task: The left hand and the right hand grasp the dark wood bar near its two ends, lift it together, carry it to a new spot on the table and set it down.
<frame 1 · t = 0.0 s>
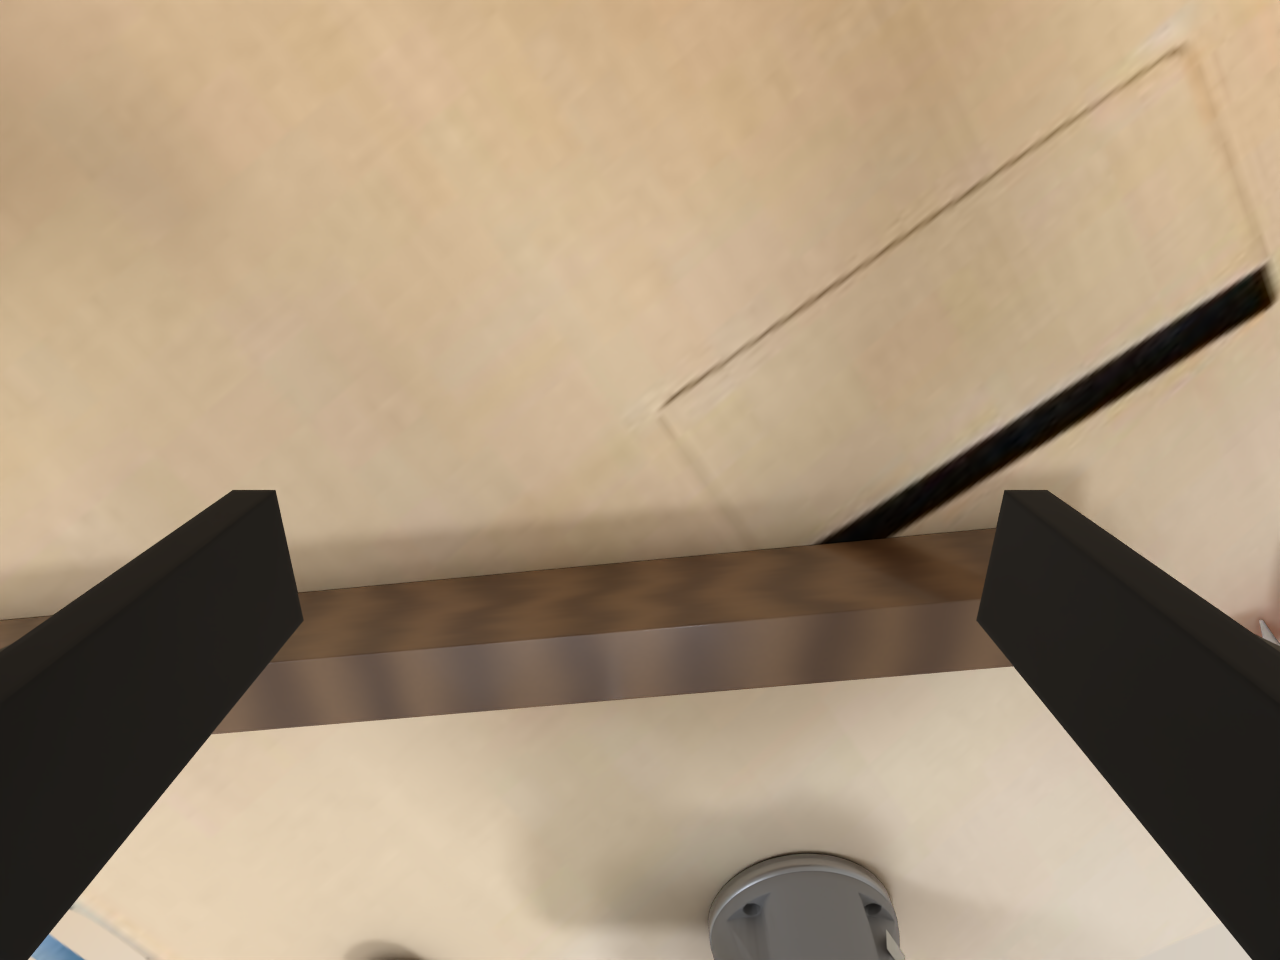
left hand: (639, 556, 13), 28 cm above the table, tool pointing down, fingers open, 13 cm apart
bar: (506, 603, 45), on the table
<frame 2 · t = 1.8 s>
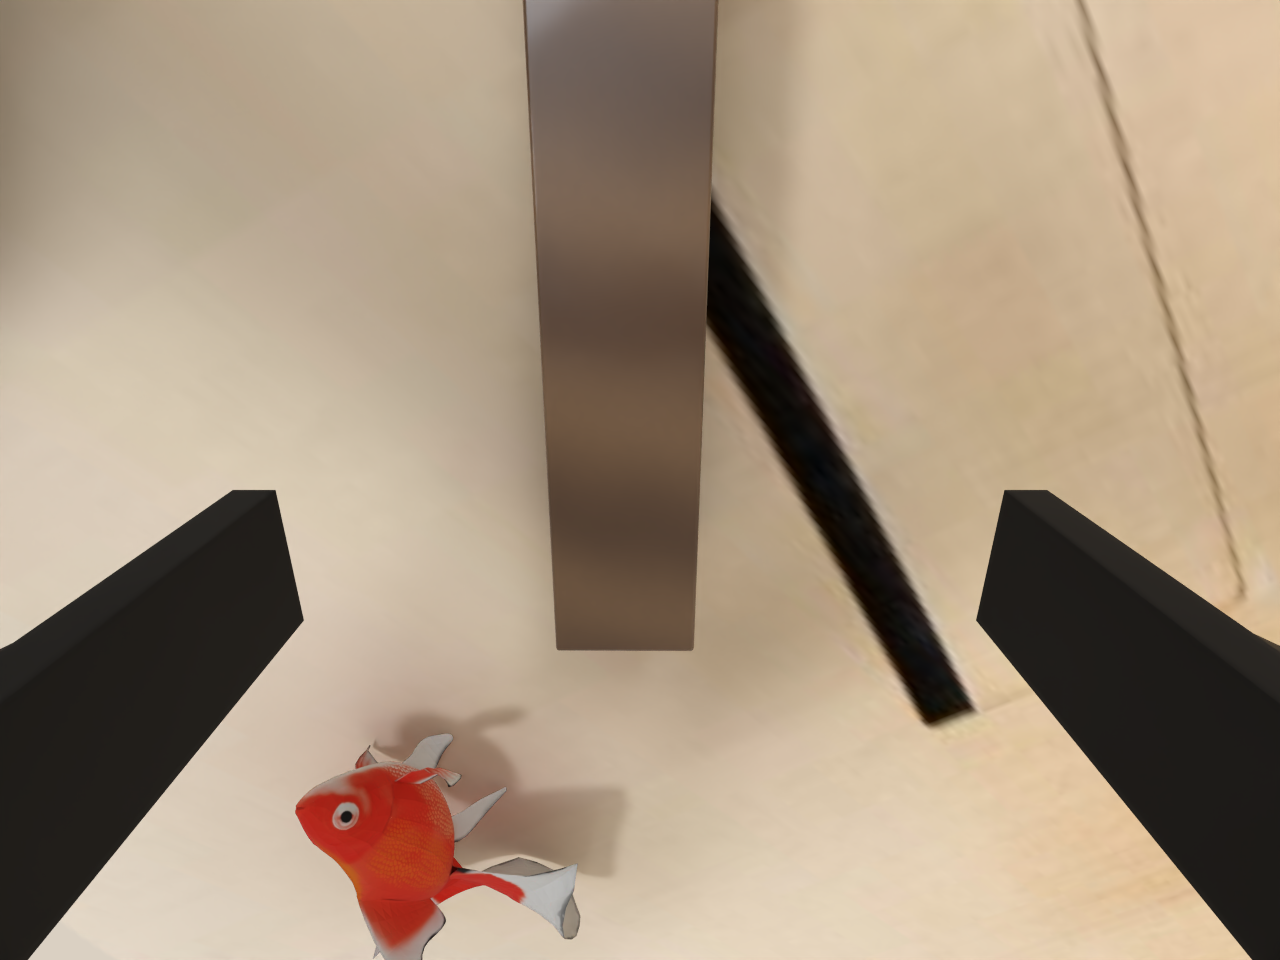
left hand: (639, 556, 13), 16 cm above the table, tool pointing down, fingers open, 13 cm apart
fish: (479, 790, 35), on the table
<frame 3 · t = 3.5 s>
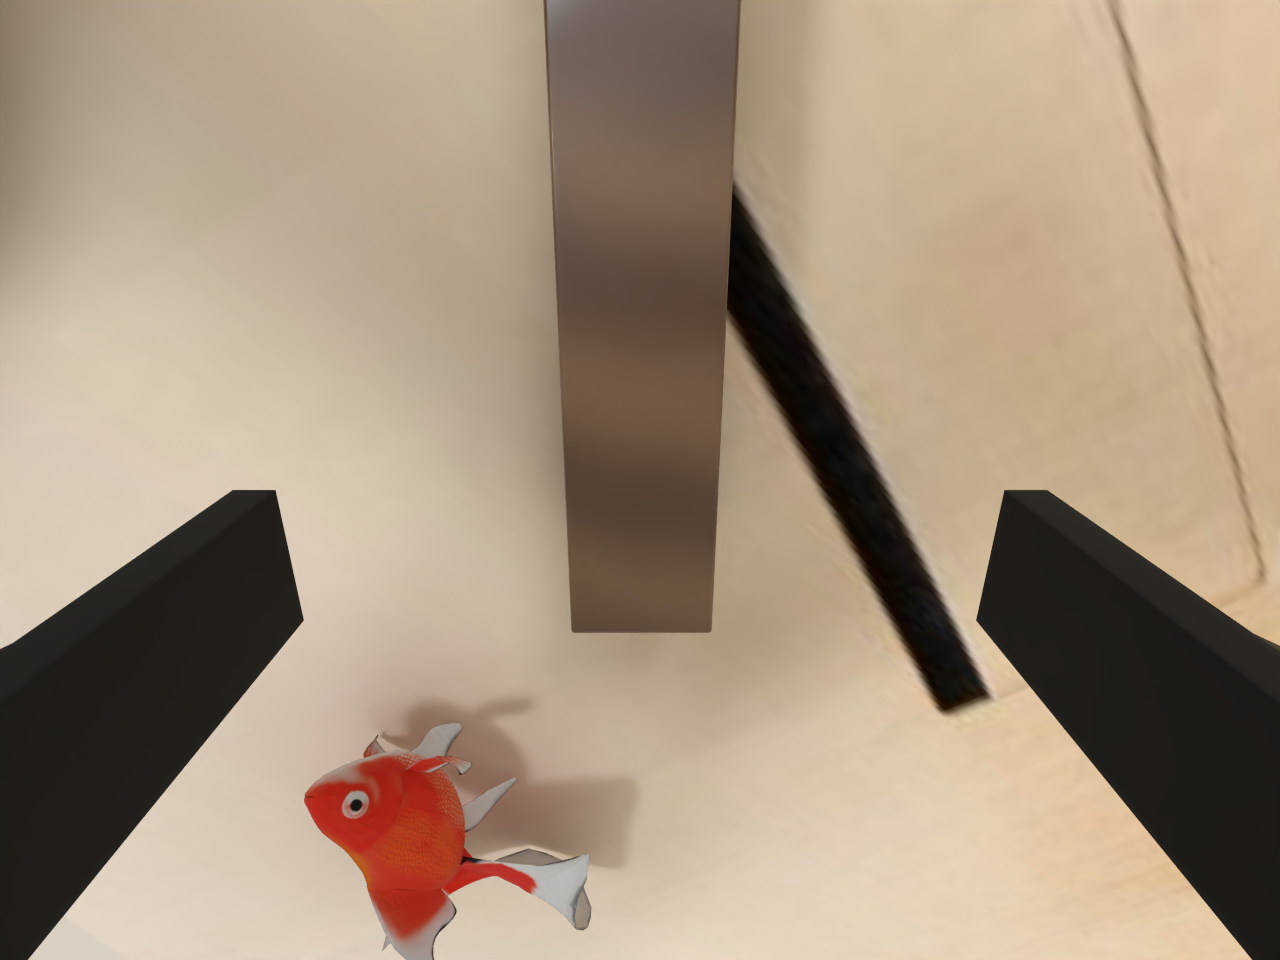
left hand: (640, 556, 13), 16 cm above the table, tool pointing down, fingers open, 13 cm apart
fish: (489, 781, 35), on the table
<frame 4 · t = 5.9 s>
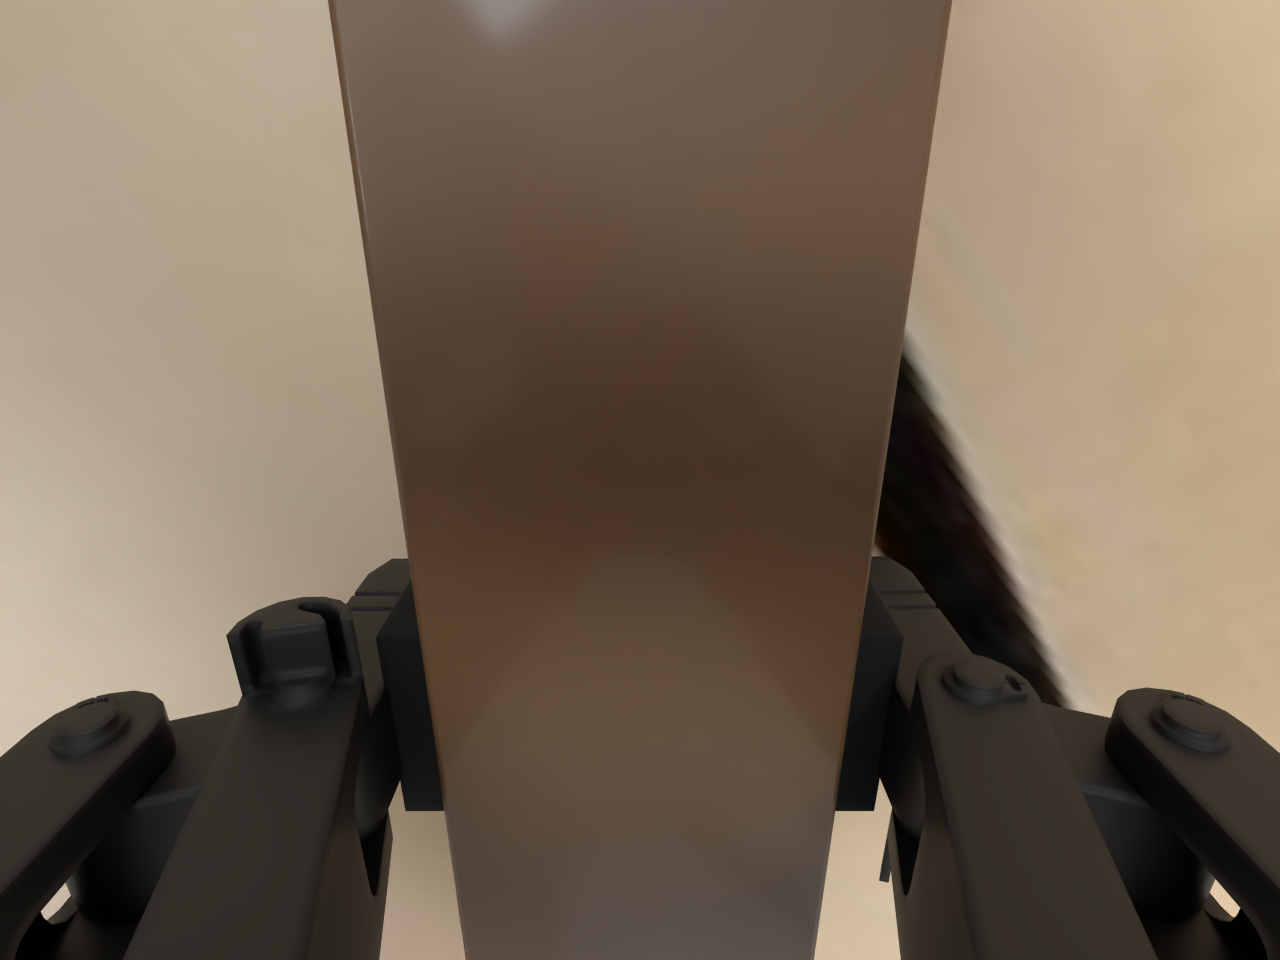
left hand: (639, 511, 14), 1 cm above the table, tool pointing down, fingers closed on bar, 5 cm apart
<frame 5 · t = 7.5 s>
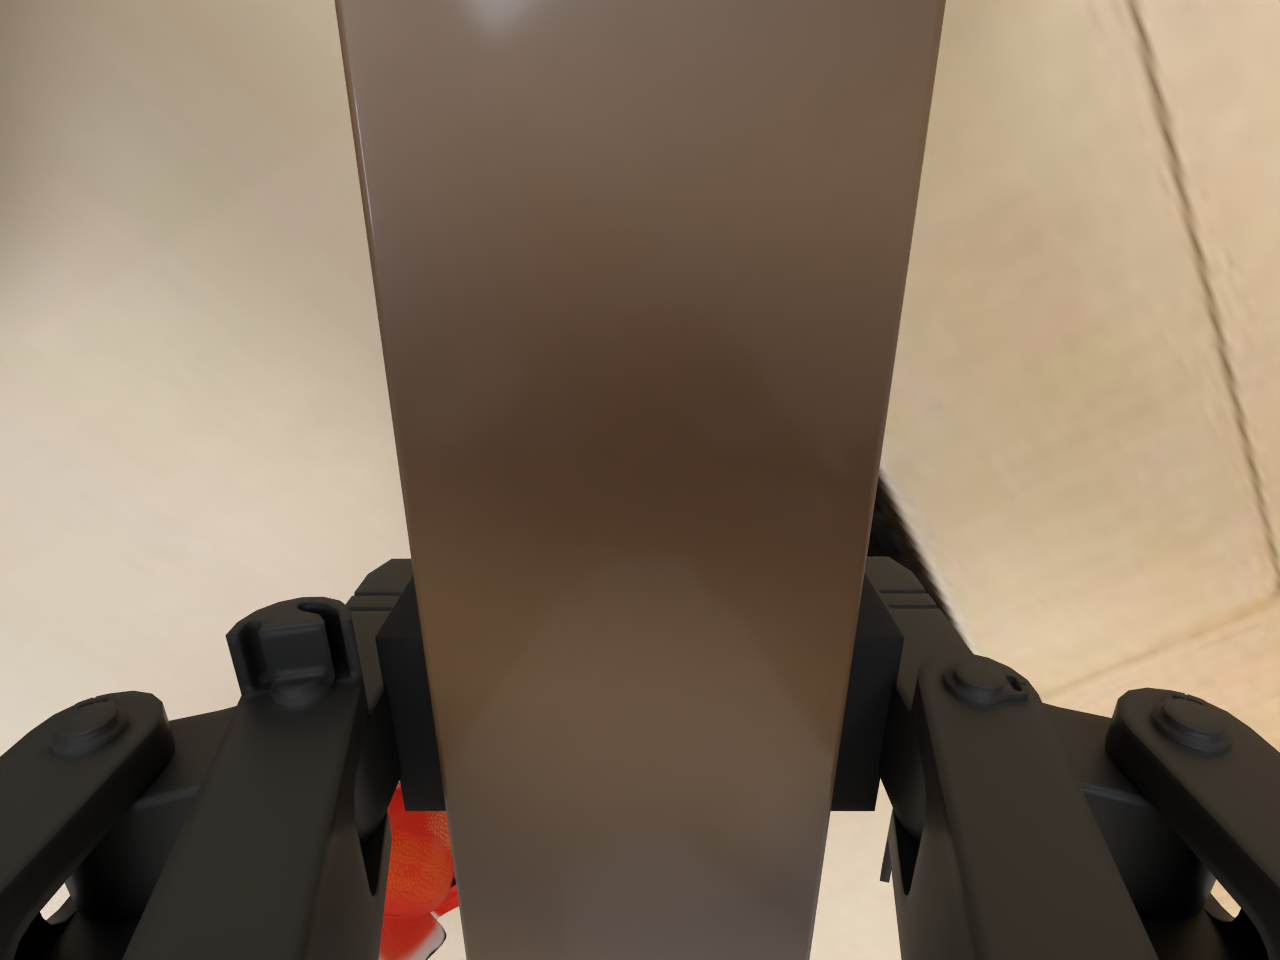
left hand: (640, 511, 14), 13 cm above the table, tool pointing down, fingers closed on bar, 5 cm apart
fish: (481, 798, 34), on the table
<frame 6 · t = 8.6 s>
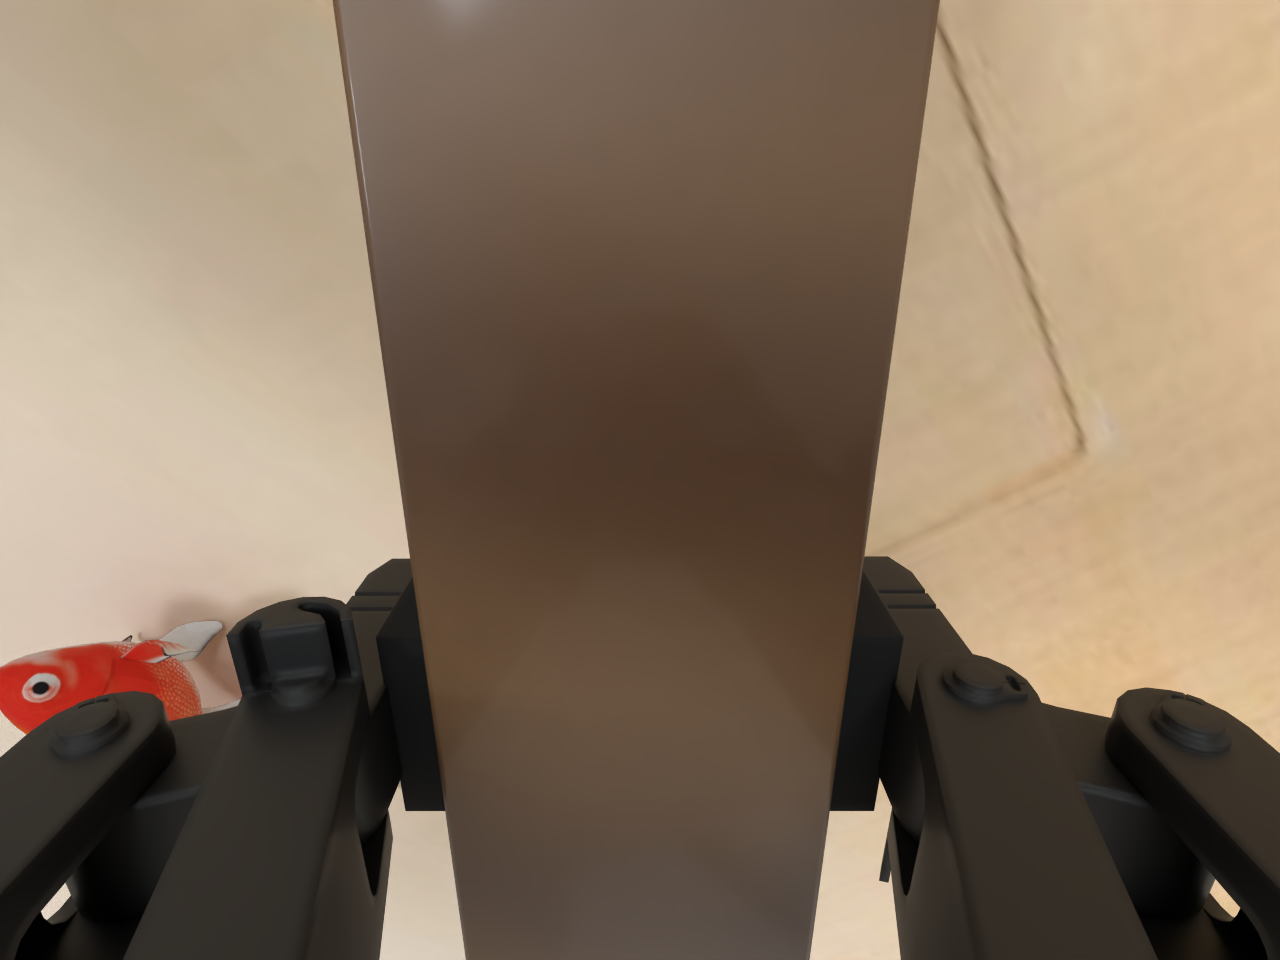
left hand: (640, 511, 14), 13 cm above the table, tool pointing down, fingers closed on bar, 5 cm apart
fish: (264, 689, 32), on the table
when the left hand's fingers open (2 cm above the table, at t = 11.4 s): bar drops 2 cm, on the table.
when the right hand's fingers open (3 cm above the table, at t = 11.4 s): bar drops 2 cm, on the table.
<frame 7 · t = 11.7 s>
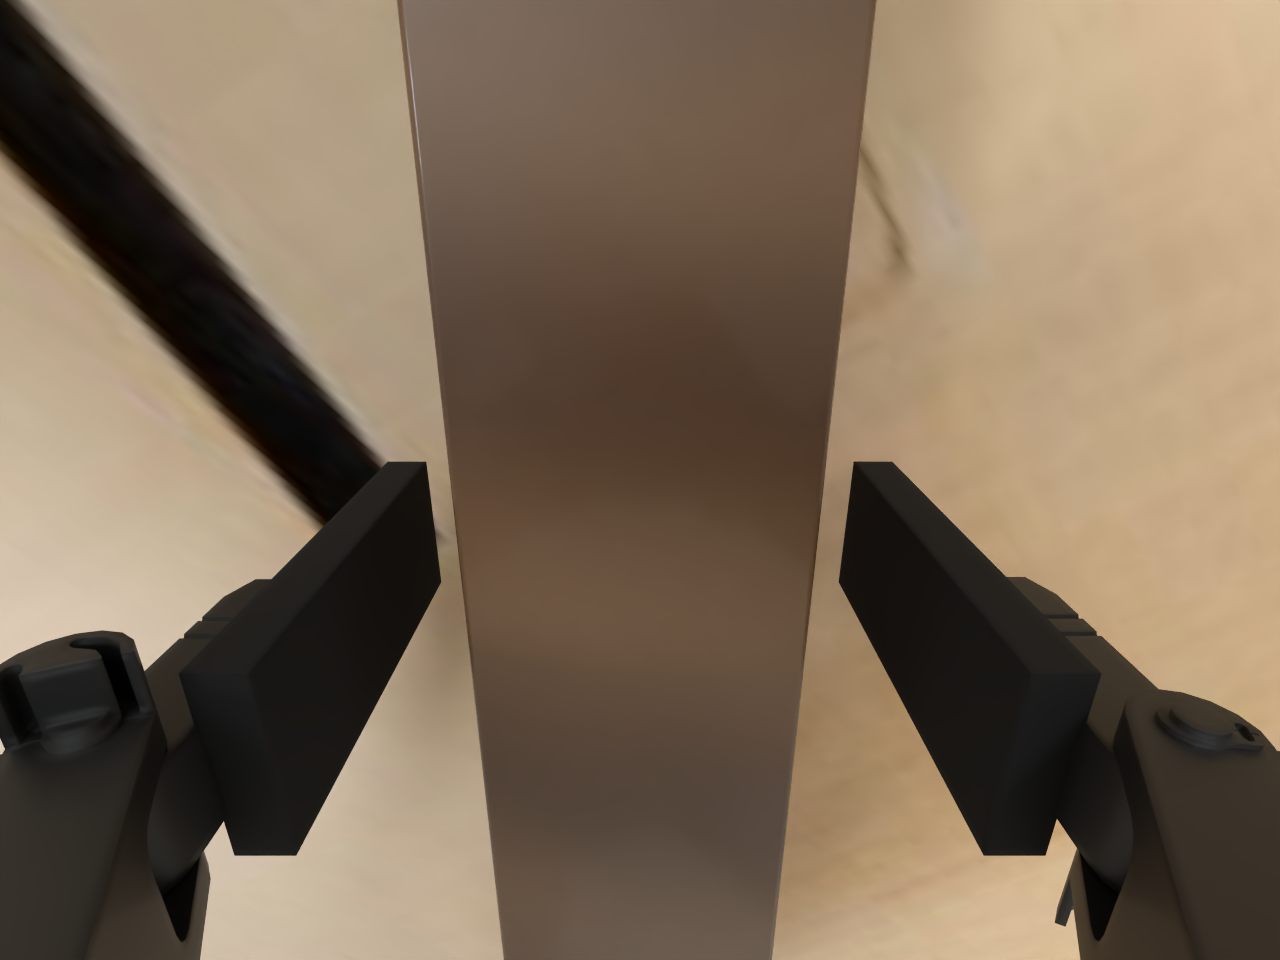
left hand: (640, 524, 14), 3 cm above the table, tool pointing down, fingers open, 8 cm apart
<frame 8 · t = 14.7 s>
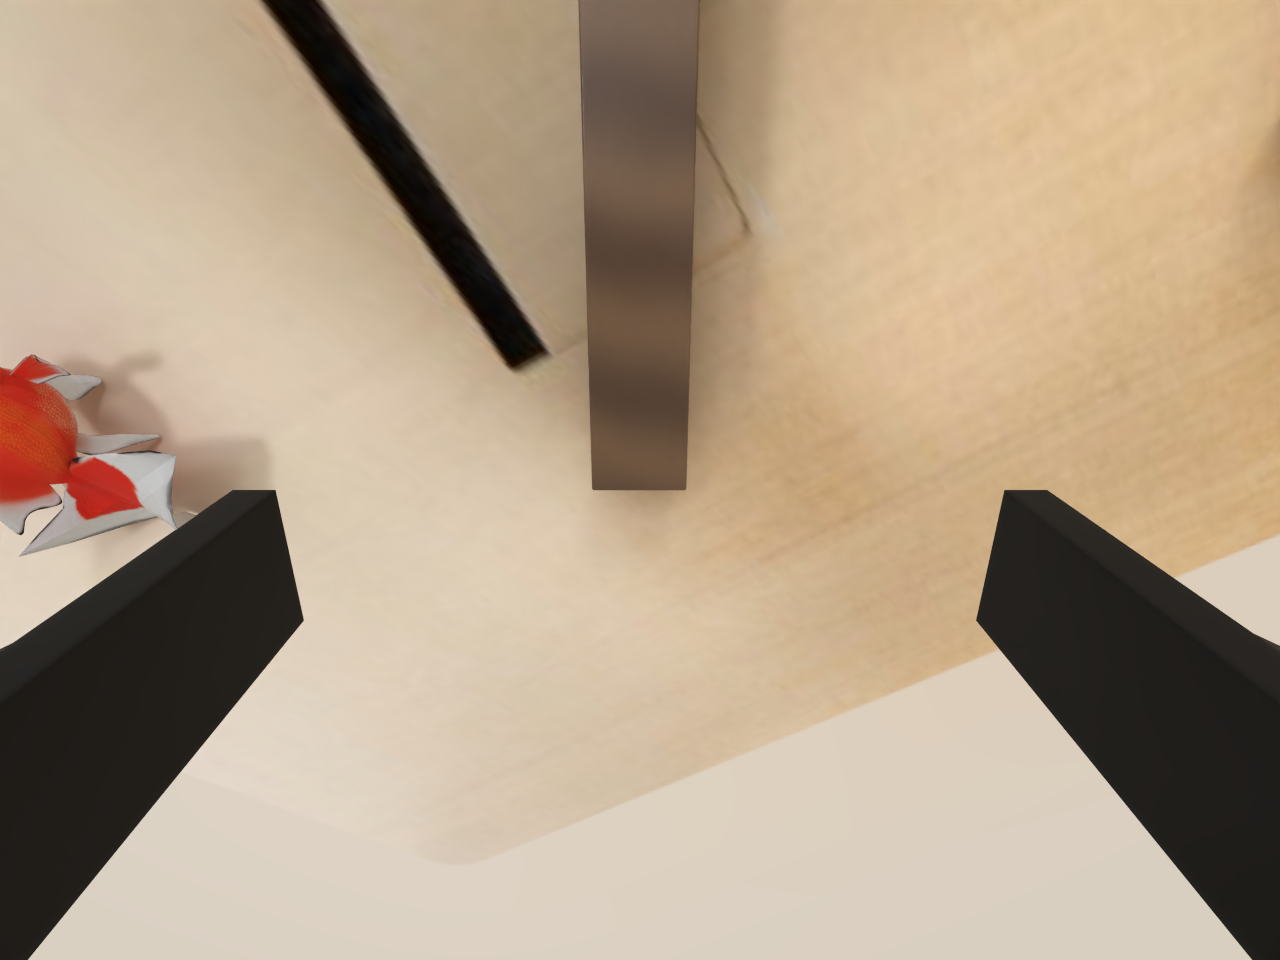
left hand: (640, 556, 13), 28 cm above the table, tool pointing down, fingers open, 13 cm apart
fish: (139, 441, 41), on the table
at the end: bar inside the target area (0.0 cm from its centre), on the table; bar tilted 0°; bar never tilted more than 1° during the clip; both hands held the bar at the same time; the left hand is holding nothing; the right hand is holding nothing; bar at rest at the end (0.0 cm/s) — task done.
